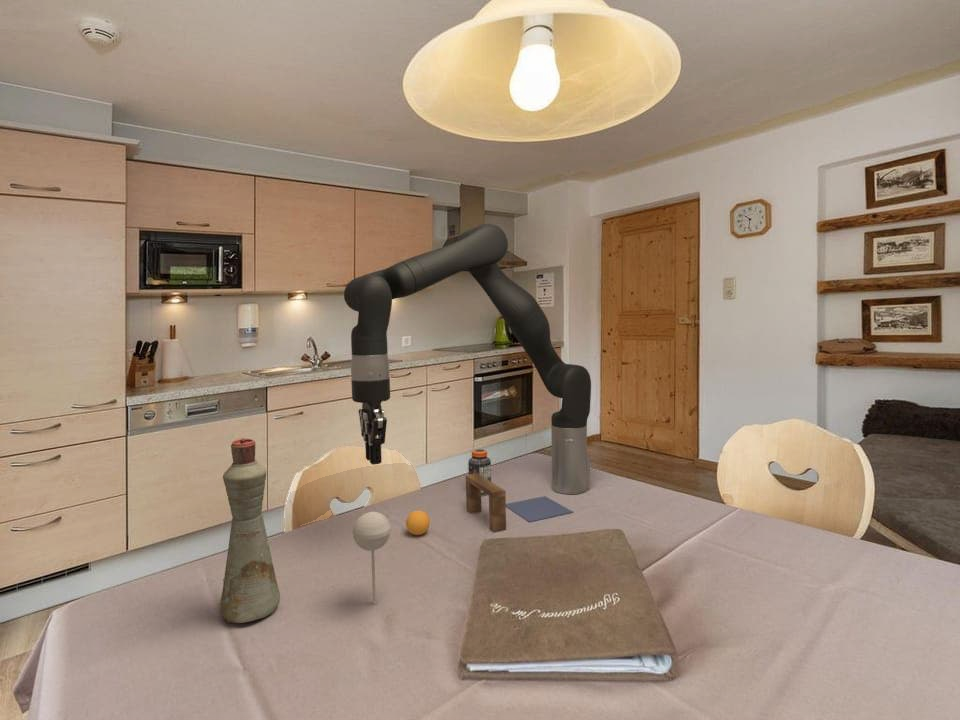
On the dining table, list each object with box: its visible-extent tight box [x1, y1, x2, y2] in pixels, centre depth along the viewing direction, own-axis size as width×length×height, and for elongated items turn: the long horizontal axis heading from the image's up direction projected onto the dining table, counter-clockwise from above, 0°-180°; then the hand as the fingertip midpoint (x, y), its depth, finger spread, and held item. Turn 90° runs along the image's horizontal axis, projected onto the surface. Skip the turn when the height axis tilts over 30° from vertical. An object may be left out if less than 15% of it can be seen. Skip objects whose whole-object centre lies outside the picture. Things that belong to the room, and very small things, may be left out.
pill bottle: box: [467, 448, 492, 496], centre depth 133 cm, size 6×6×11 cm
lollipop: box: [352, 511, 392, 605], centre depth 81 cm, size 6×6×15 cm
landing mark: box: [506, 495, 574, 523], centre depth 121 cm, size 12×12×1 cm
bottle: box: [219, 437, 281, 624], centre depth 79 cm, size 9×9×28 cm
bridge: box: [465, 473, 507, 533], centre depth 115 cm, size 3×14×9 cm, turn 26°
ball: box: [405, 509, 431, 536], centre depth 108 cm, size 5×5×5 cm
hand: (373, 461), depth 103 cm, fingers open, 3 cm apart
